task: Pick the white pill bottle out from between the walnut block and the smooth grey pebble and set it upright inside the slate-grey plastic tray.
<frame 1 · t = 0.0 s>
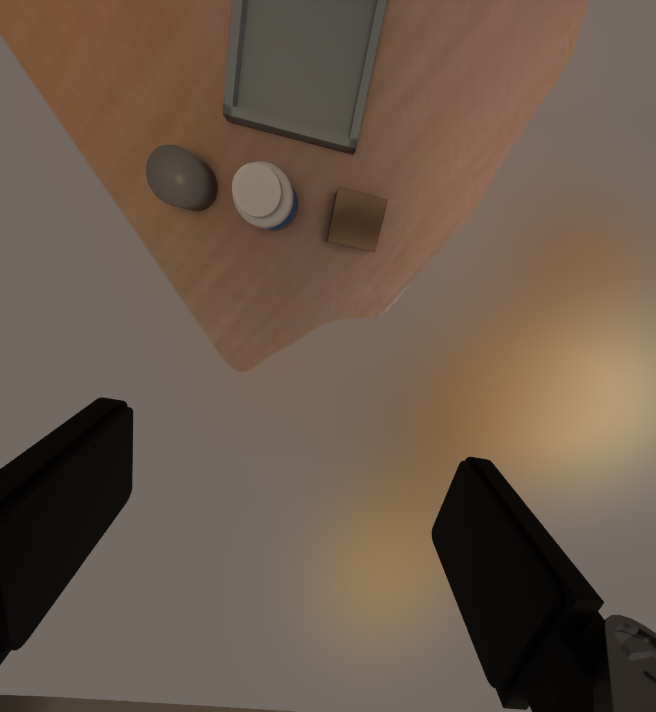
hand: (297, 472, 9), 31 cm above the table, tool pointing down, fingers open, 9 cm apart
walnut block: (352, 223, 36), on the table
pill bottle: (273, 204, 35), on the table
smooth grey pebble: (193, 185, 34), on the table
slate tray: (304, 61, 31), on the table
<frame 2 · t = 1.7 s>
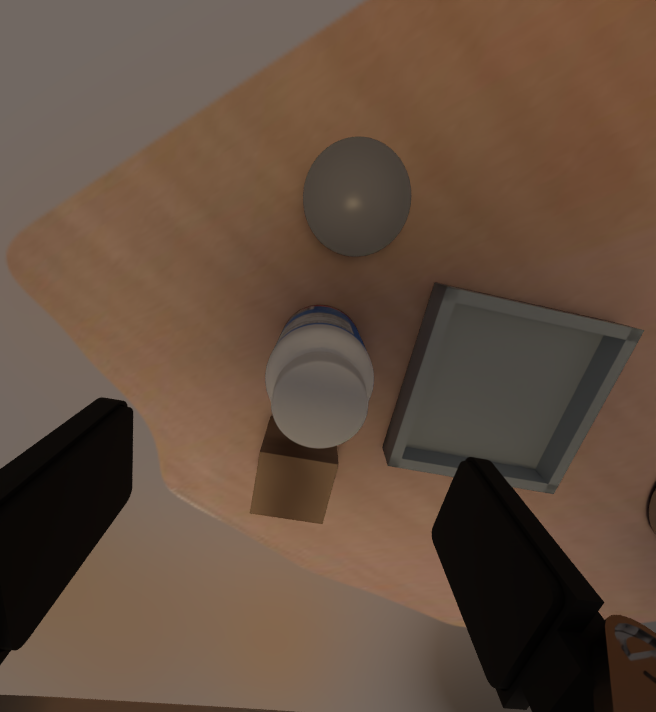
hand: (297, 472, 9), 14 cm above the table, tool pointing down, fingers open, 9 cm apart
walnut block: (297, 448, 25), on the table
pill bottle: (320, 340, 22), on the table
smooth grey pebble: (348, 210, 19), on the table
slate tray: (490, 389, 24), on the table
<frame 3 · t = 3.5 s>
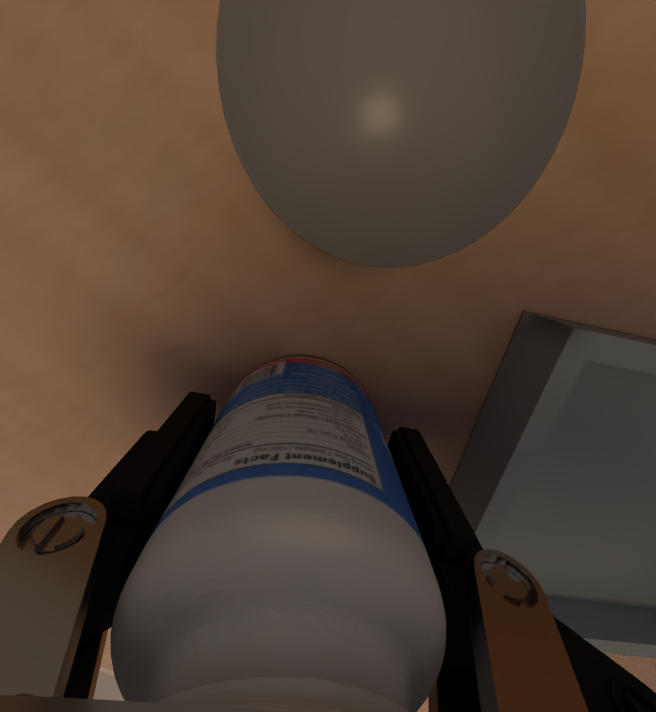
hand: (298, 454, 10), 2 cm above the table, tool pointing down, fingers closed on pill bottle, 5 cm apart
pill bottle: (301, 417, 12), on the table, touching gripper
smooth grey pebble: (356, 162, 9), on the table
slate tray: (601, 490, 13), on the table
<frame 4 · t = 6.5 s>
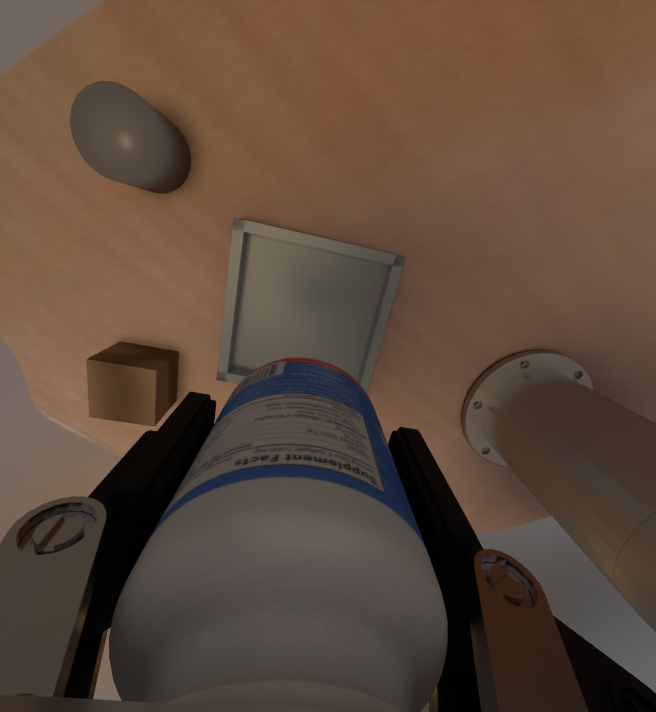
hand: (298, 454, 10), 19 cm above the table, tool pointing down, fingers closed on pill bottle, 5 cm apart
walnut block: (149, 371, 29), on the table
pill bottle: (301, 417, 12), point 17 cm above the table, touching gripper
smooth grey pebble: (155, 155, 23), on the table
slate tray: (306, 315, 28), on the table
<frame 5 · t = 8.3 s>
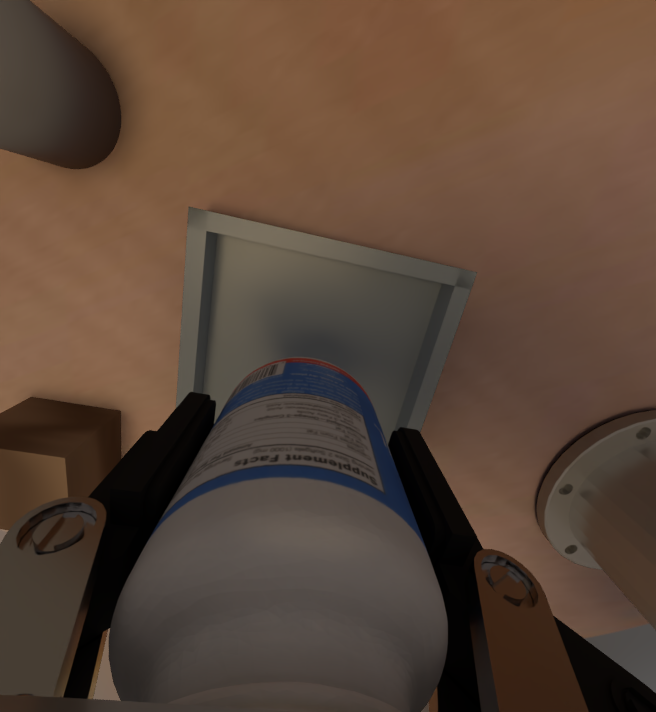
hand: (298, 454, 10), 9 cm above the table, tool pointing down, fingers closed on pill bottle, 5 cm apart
walnut block: (79, 438, 20), on the table
pill bottle: (301, 417, 12), point 7 cm above the table, touching gripper
smooth grey pebble: (61, 104, 14), on the table
slate tray: (311, 359, 18), on the table
when the fingers open (4 cm above the table, at t = 9.6 s): pill bottle drops 2 cm, resting on slate tray.
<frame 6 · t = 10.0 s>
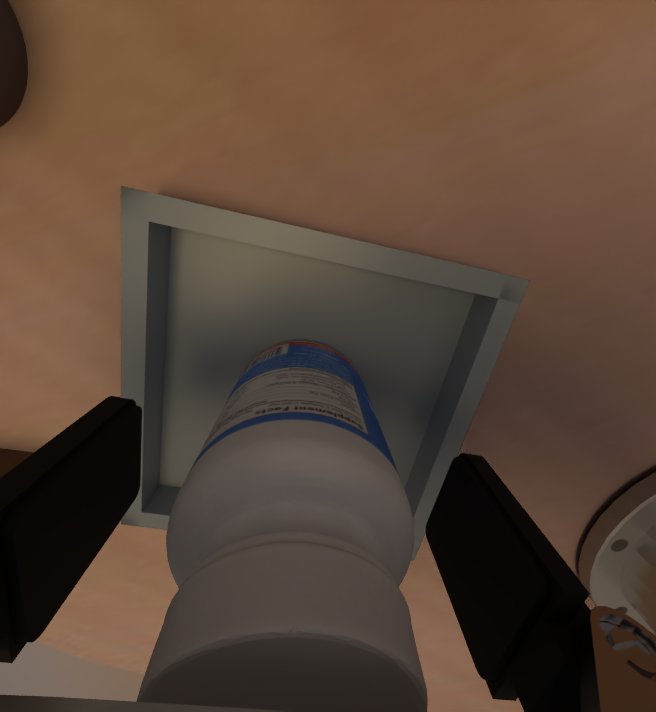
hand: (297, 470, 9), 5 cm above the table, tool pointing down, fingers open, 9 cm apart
walnut block: (8, 489, 15), on the table
pill bottle: (301, 395, 14), resting on slate tray
slate tray: (303, 390, 14), on the table
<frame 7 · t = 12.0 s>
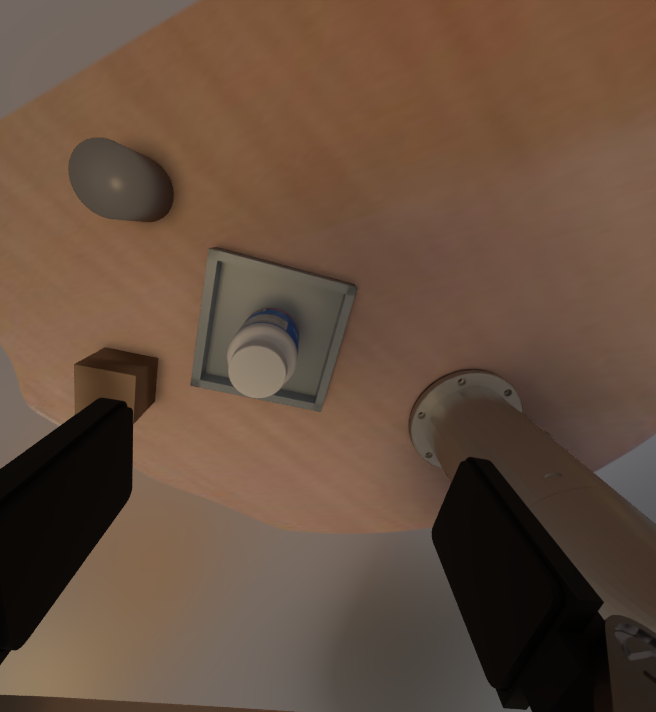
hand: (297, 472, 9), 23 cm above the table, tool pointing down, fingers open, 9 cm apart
walnut block: (131, 374, 32), on the table
pill bottle: (272, 333, 31), resting on slate tray
smooth grey pebble: (142, 189, 27), on the table
slate tray: (273, 331, 32), on the table
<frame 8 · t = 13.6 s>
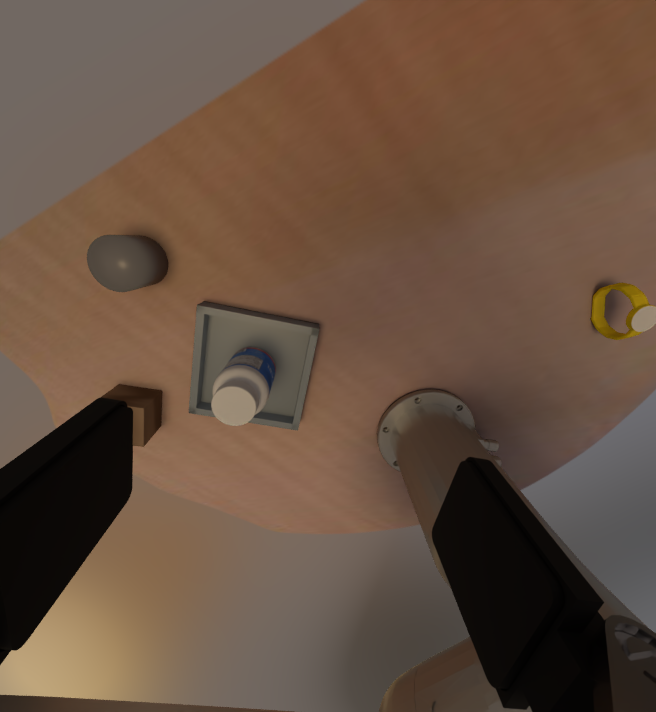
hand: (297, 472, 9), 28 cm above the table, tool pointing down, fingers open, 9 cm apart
walnut block: (141, 405, 39), on the table
pill bottle: (253, 366, 38), resting on slate tray
smooth grey pebble: (143, 260, 34), on the table
slate tray: (254, 365, 38), on the table
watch: (595, 306, 37), on the table
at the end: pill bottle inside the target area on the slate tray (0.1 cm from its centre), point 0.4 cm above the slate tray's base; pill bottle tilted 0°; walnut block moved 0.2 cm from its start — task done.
